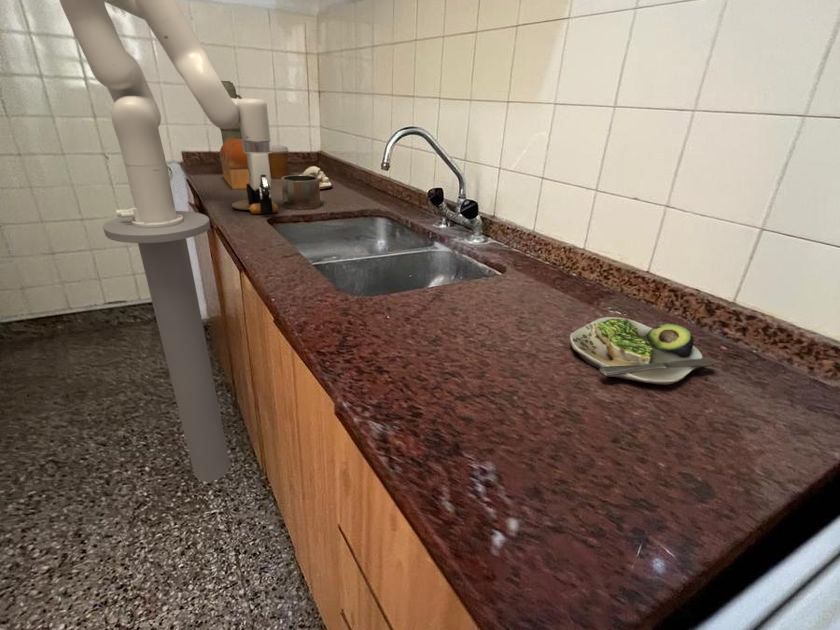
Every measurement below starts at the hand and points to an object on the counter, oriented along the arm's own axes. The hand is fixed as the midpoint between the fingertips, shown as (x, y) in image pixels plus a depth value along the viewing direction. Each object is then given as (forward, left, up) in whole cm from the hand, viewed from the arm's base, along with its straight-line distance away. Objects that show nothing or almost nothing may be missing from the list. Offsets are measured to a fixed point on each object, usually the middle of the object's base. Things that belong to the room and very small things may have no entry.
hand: (264, 209), depth 133 cm
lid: (-2, +9, -1) cm, 9 cm away
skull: (+25, +35, -1) cm, 43 cm away
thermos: (+1, +75, -1) cm, 75 cm away
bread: (+1, +52, -1) cm, 52 cm away
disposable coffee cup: (+16, +61, -1) cm, 63 cm away
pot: (+13, +8, -1) cm, 15 cm away
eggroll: (0, 0, -1) cm, 1 cm away
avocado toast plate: (+37, -102, -1) cm, 109 cm away
